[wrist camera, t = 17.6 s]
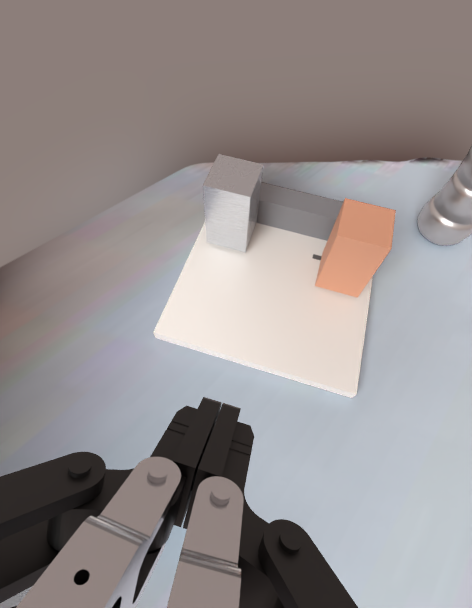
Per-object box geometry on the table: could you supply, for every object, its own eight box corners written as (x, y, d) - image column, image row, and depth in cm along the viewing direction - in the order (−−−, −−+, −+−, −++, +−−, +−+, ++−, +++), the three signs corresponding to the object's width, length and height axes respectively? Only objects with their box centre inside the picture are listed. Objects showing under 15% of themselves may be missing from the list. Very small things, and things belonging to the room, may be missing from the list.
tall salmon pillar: (357, 297, 39) (391, 249, 31) (314, 286, 40) (337, 235, 32) (363, 263, 42) (395, 210, 34) (322, 252, 42) (345, 198, 34)
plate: (351, 398, 36) (371, 383, 31) (155, 337, 38) (145, 315, 34) (374, 240, 46) (392, 210, 41) (218, 200, 49) (218, 168, 44)
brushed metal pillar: (245, 252, 42) (250, 197, 34) (206, 242, 42) (202, 185, 35) (256, 222, 44) (263, 164, 36) (219, 213, 45) (218, 154, 37)
